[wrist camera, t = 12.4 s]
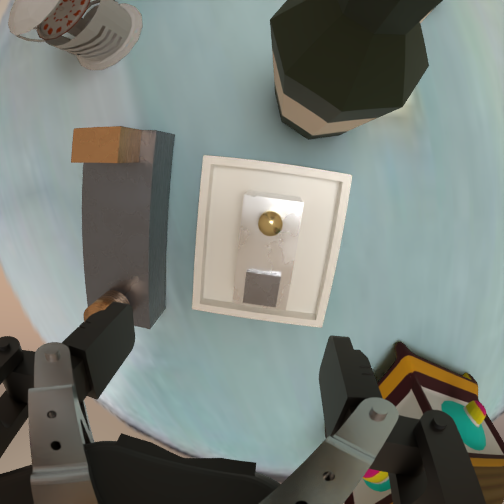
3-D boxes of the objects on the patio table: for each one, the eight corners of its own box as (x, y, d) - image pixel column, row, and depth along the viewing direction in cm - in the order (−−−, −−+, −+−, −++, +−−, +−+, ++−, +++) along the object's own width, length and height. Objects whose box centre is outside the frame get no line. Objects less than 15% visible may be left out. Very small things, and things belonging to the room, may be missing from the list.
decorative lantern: (479, 367, 34) (566, 506, 6) (401, 448, 40) (436, 586, 11) (395, 325, 33) (503, 547, 5) (310, 426, 39) (315, 612, 10)
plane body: (110, 134, 30) (61, 129, 21) (174, 134, 29) (137, 126, 21) (108, 296, 36) (70, 330, 27) (165, 308, 35) (135, 349, 27)
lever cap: (249, 190, 29) (242, 195, 24) (300, 196, 29) (304, 204, 24) (238, 284, 32) (230, 308, 27) (285, 291, 32) (285, 315, 27)
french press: (138, 61, 27) (-37, -23, 3) (61, 81, 28) (-101, 55, 4) (147, -5, 24) (24, -114, 1) (72, 19, 25) (-61, -36, 1)
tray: (209, 155, 30) (203, 155, 27) (346, 174, 29) (352, 175, 27) (197, 299, 34) (192, 309, 32) (319, 316, 34) (321, 327, 31)
